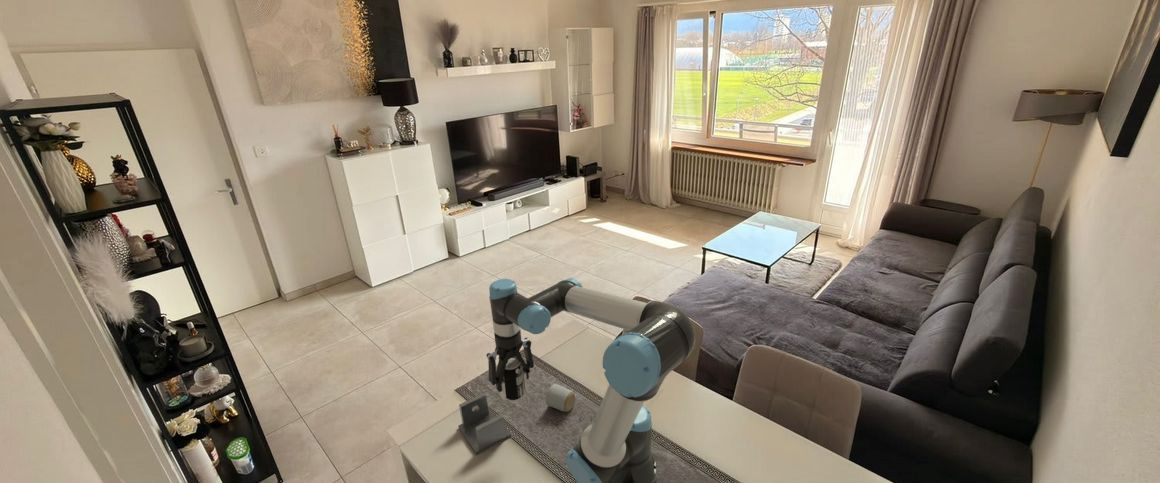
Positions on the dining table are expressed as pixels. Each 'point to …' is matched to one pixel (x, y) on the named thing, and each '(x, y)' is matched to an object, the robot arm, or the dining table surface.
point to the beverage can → (514, 379)
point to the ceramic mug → (560, 398)
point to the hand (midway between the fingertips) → (514, 392)
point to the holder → (481, 424)
